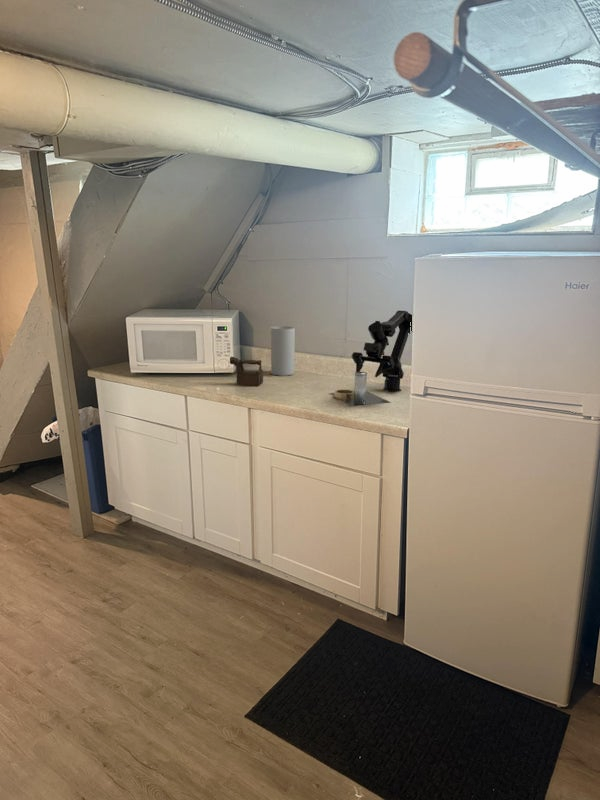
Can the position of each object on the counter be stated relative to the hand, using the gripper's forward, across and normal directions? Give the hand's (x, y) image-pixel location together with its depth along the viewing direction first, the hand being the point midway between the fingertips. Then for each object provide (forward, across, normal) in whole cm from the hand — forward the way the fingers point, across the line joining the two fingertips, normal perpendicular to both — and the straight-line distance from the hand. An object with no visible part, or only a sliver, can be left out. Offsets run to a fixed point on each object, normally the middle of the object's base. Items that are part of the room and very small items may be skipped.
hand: (365, 375), depth 238 cm
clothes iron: (+10, -64, +8) cm, 65 cm away
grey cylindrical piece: (+11, 0, +4) cm, 12 cm away
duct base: (+6, -4, +10) cm, 13 cm away
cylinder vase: (-12, -65, +28) cm, 72 cm away
